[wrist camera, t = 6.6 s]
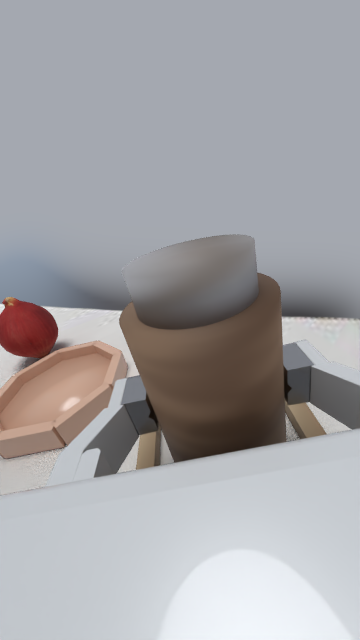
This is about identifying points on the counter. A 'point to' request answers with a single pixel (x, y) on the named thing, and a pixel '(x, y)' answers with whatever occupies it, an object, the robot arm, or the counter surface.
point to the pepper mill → (208, 345)
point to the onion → (27, 329)
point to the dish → (57, 397)
